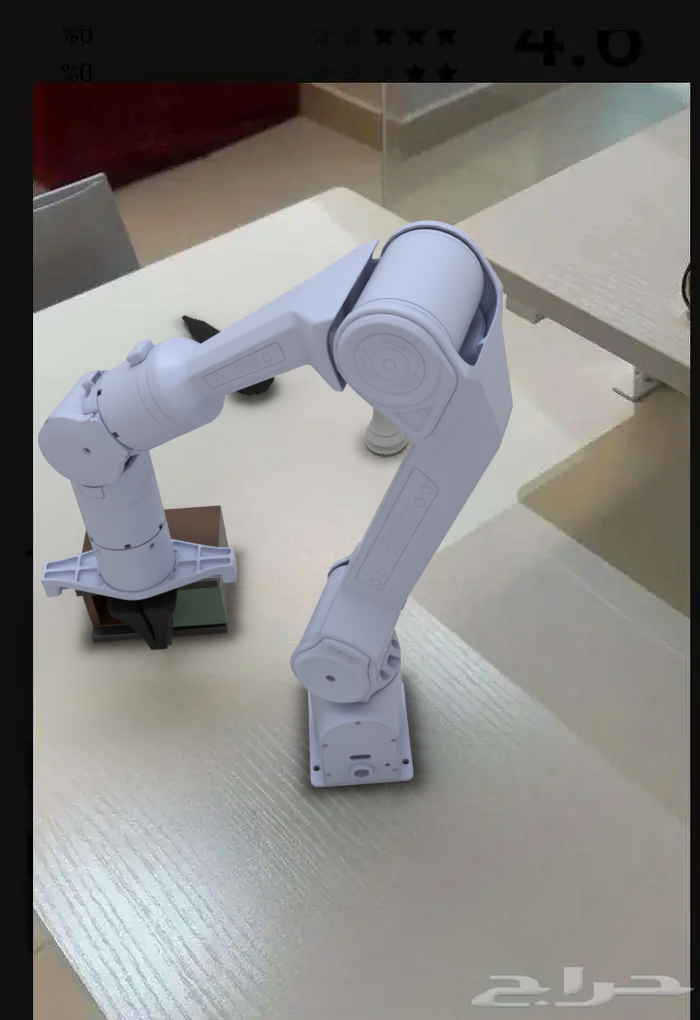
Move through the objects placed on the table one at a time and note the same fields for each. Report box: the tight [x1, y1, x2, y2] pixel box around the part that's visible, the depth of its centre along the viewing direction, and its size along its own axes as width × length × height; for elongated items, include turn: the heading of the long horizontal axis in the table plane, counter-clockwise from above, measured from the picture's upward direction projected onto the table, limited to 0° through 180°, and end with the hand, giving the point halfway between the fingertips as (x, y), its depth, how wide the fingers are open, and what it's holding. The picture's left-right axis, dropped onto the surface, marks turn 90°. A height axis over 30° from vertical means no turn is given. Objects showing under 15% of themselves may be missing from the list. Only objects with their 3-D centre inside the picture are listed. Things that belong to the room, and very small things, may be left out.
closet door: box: [168, 582, 229, 647], centre depth 91 cm, size 3×6×5 cm, turn 93°
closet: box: [74, 504, 231, 643], centre depth 95 cm, size 9×12×7 cm
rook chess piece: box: [364, 407, 408, 456], centre depth 108 cm, size 4×4×8 cm
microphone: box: [181, 314, 276, 396], centre depth 122 cm, size 6×6×20 cm
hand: (160, 640), depth 86 cm, fingers closed
